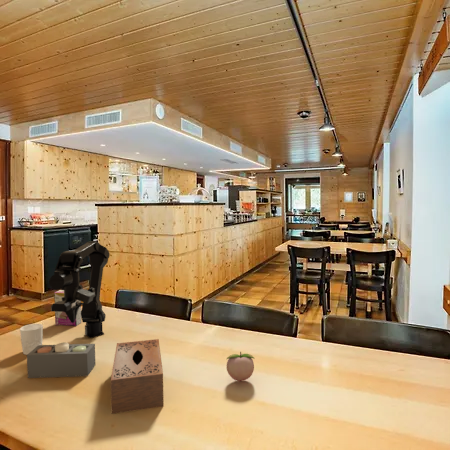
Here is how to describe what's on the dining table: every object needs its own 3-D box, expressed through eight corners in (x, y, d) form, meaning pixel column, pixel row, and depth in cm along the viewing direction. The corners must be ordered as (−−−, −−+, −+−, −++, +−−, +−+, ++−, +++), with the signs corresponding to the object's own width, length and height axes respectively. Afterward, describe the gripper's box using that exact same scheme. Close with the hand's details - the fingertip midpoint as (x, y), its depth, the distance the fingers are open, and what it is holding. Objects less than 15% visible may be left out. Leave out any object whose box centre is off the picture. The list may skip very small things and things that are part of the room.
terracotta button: (41, 359, 121) (41, 346, 120) (54, 358, 121) (53, 346, 121) (35, 364, 116) (34, 352, 116) (48, 364, 117) (48, 351, 116)
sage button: (76, 358, 121) (75, 345, 121) (88, 357, 122) (88, 345, 121) (71, 363, 117) (70, 351, 117) (84, 363, 117) (83, 350, 117)
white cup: (26, 357, 130) (25, 332, 129) (17, 352, 135) (16, 327, 134) (47, 350, 136) (46, 326, 136) (38, 345, 141) (37, 322, 140)
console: (39, 366, 123) (38, 345, 122) (95, 364, 124) (94, 343, 123) (27, 377, 115) (26, 355, 114) (87, 376, 116) (87, 353, 115)
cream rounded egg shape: (58, 354, 121) (58, 342, 121) (71, 354, 121) (70, 342, 121) (53, 360, 117) (52, 347, 116) (66, 360, 117) (65, 347, 116)
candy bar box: (54, 325, 164) (53, 292, 163) (60, 322, 169) (59, 289, 168) (76, 326, 163) (75, 292, 162) (82, 322, 168) (80, 290, 167)
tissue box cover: (117, 370, 120) (116, 343, 119) (159, 365, 123) (158, 339, 123) (111, 414, 95) (110, 380, 94) (163, 407, 98) (163, 373, 98)
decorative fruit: (231, 390, 106) (230, 359, 106) (224, 377, 114) (223, 348, 113) (258, 386, 109) (258, 355, 108) (250, 373, 117) (250, 345, 116)
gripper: (77, 290, 123) (79, 331, 124) (102, 278, 141) (103, 315, 142) (49, 289, 124) (51, 330, 125) (77, 278, 143) (78, 314, 144)
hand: (73, 322), depth 134 cm, fingers closed
